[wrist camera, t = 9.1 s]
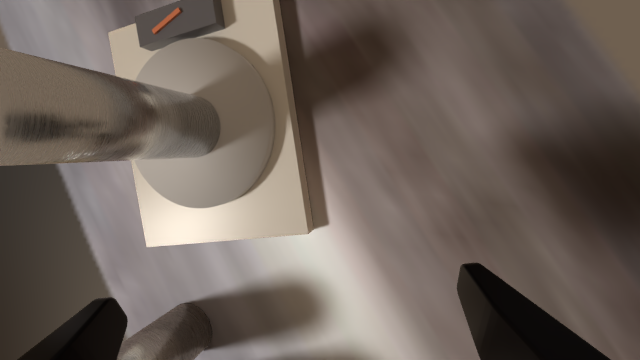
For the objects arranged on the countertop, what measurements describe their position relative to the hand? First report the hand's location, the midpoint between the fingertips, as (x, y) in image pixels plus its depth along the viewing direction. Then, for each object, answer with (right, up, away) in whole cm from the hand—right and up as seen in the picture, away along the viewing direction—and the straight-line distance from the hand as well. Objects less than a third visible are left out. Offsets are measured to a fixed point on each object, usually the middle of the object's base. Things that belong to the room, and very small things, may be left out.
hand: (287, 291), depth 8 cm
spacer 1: (-7, +6, +12) cm, 16 cm away
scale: (-7, +7, +14) cm, 17 cm away
